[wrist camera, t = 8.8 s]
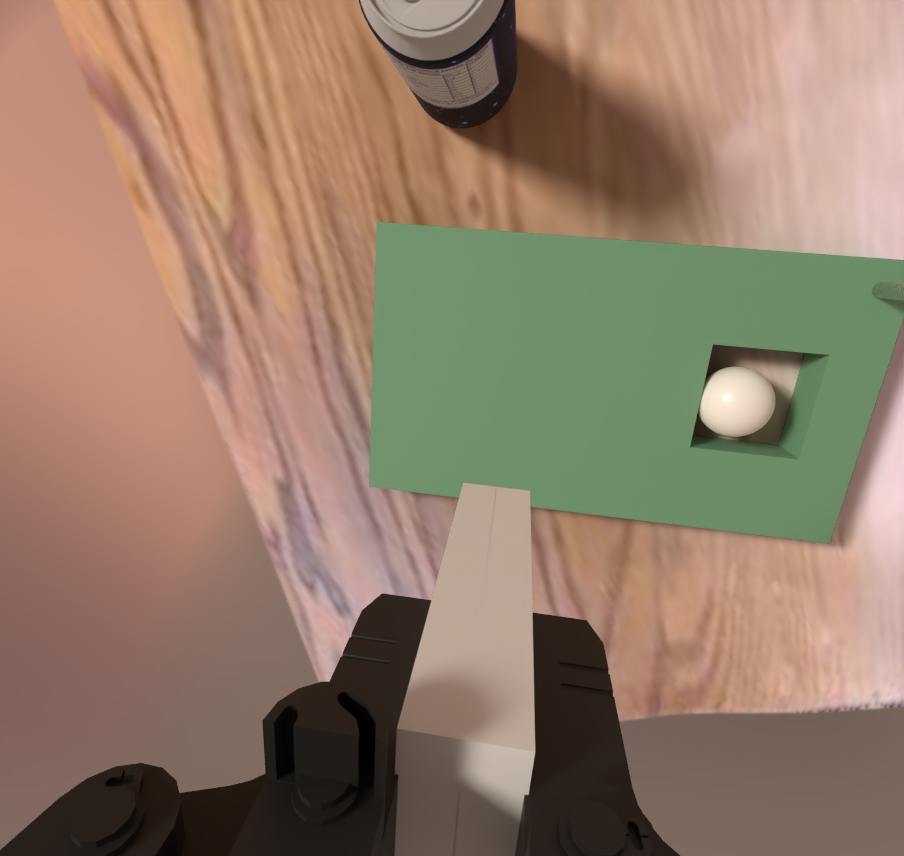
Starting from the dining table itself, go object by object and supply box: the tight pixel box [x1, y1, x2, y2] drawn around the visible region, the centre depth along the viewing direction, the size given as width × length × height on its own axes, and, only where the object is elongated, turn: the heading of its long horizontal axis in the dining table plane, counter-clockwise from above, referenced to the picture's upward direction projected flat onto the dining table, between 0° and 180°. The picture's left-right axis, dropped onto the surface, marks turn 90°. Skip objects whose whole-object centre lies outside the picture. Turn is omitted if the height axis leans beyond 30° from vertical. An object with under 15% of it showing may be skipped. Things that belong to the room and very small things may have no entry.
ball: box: [698, 366, 775, 437], centre depth 30 cm, size 4×4×4 cm
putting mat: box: [369, 222, 904, 544], centre depth 32 cm, size 16×28×2 cm, turn 86°
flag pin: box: [872, 282, 904, 300], centre depth 23 cm, size 1×4×14 cm, turn 86°
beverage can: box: [359, 0, 517, 128], centre depth 23 cm, size 6×6×12 cm
